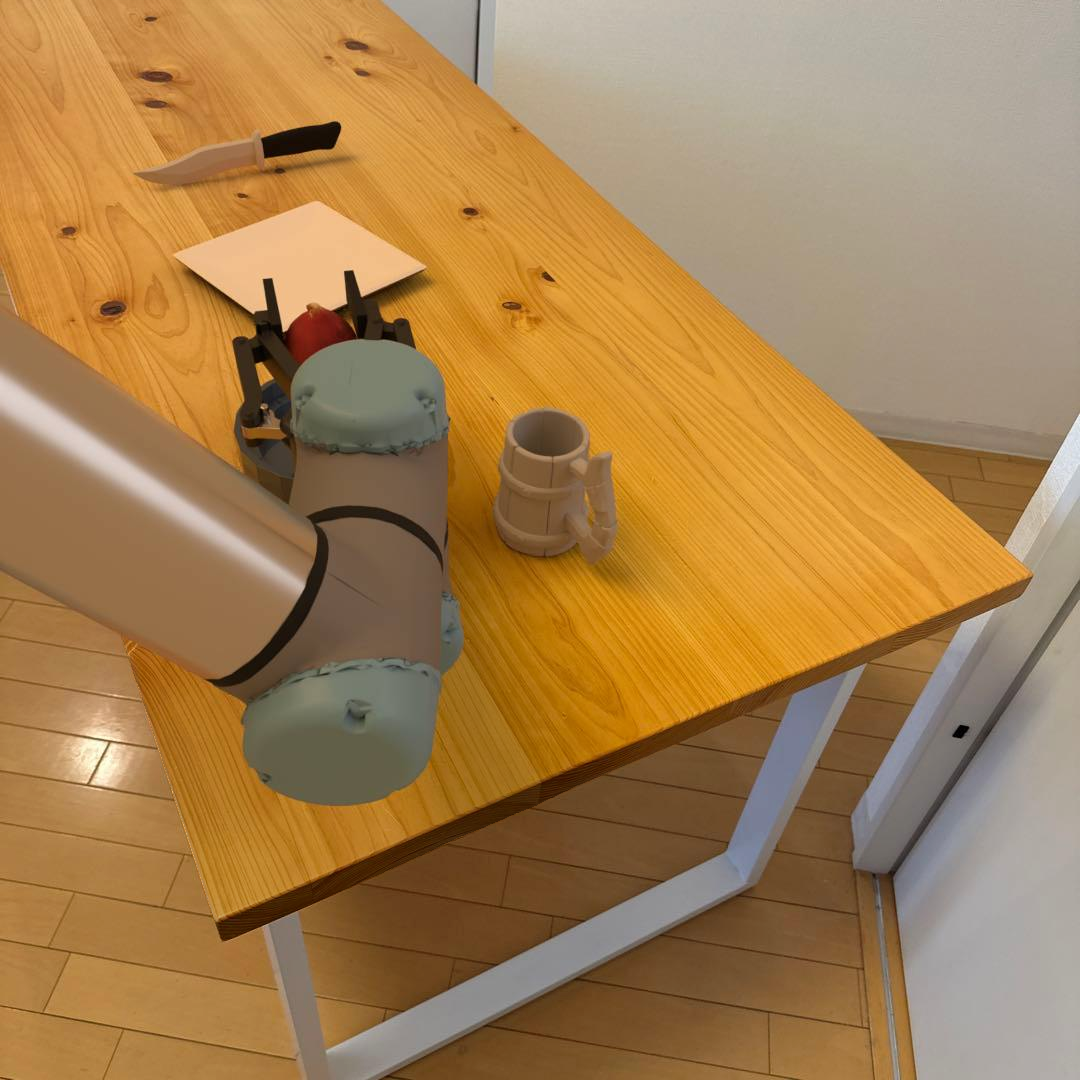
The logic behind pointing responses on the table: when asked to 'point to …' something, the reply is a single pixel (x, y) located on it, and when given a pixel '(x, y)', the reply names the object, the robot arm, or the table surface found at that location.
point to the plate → (298, 261)
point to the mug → (554, 487)
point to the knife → (242, 154)
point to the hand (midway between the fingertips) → (310, 289)
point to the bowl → (268, 449)
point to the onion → (316, 332)
